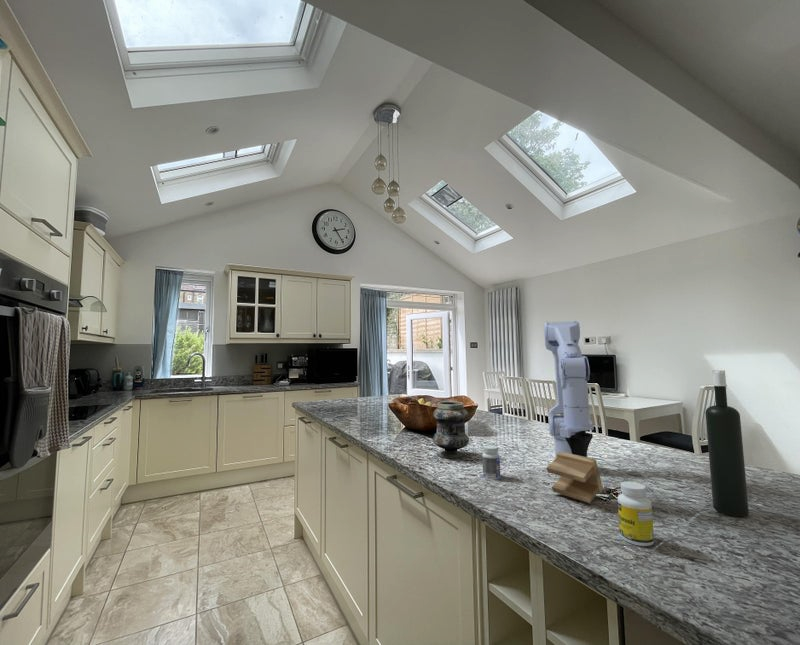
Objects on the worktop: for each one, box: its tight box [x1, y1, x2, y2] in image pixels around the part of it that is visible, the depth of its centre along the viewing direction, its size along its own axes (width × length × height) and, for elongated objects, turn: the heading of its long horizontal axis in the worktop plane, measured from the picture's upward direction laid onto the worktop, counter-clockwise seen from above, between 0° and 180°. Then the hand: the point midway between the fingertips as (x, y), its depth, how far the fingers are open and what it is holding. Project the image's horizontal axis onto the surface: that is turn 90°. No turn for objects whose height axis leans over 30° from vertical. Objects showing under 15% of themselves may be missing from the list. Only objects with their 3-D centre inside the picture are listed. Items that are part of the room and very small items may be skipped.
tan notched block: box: [546, 451, 604, 504], centre depth 88 cm, size 8×9×6 cm
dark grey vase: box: [432, 400, 470, 461], centre depth 125 cm, size 12×12×18 cm
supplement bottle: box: [617, 481, 655, 547], centre depth 69 cm, size 5×5×10 cm
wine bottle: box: [704, 369, 750, 517], centre depth 81 cm, size 6×6×30 cm
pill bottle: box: [481, 444, 501, 481], centre depth 104 cm, size 5×5×8 cm
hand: (579, 463), depth 89 cm, fingers closed, pressing on tan notched block
